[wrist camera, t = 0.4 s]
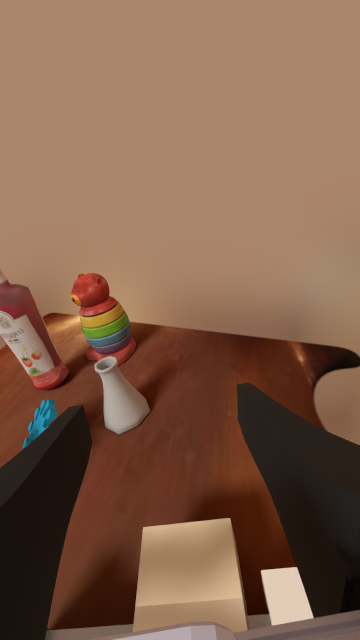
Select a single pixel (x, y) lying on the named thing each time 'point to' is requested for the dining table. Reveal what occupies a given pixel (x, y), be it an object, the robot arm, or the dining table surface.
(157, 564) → the block
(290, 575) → the block
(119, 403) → the flask
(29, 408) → the dining table surface
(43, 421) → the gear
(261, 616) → the bar
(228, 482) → the dining table surface
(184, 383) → the dining table surface
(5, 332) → the liquor
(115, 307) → the stacking bear
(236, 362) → the dining table surface
